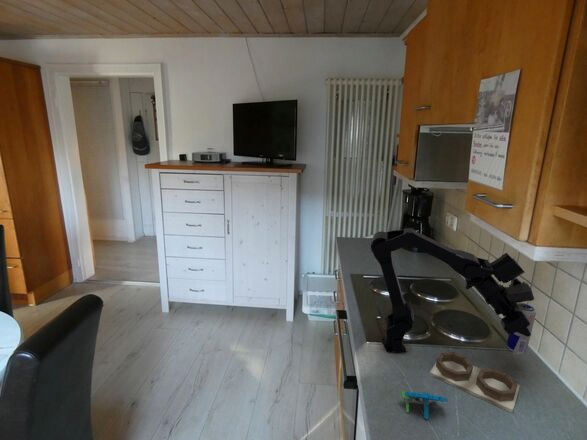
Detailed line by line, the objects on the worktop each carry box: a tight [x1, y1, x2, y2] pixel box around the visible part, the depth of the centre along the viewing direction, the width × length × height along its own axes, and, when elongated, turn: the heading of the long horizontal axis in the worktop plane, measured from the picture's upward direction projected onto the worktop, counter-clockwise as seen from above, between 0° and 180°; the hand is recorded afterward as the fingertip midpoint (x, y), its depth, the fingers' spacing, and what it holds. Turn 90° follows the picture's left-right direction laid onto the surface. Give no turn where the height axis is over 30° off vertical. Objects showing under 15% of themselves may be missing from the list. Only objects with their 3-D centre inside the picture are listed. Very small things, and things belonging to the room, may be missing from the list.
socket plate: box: [429, 351, 521, 414], centre depth 98 cm, size 21×11×4 cm, turn 50°
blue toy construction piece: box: [400, 390, 448, 420], centre depth 88 cm, size 11×6×10 cm
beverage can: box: [505, 302, 538, 356], centre depth 100 cm, size 5×5×15 cm
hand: (526, 330), depth 100 cm, fingers closed on beverage can, 5 cm apart
